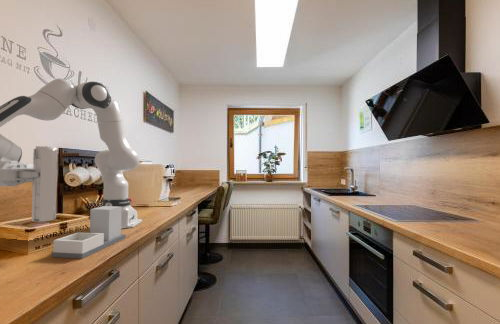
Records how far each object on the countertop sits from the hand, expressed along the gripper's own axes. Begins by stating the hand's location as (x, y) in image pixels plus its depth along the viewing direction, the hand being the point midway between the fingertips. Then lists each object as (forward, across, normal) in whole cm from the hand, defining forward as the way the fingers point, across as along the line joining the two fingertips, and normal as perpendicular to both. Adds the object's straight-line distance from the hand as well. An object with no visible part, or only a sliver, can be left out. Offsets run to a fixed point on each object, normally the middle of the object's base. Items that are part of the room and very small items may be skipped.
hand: (47, 174), depth 86 cm
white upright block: (-1, 0, +16) cm, 16 cm away
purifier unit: (+9, +11, +28) cm, 31 cm away
